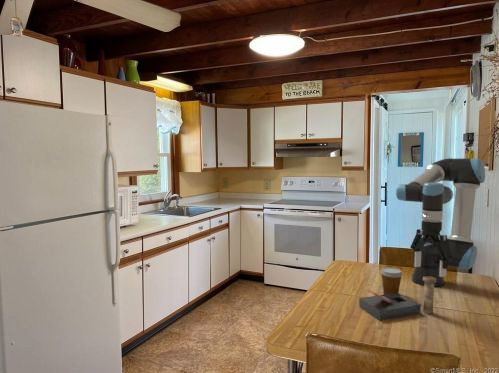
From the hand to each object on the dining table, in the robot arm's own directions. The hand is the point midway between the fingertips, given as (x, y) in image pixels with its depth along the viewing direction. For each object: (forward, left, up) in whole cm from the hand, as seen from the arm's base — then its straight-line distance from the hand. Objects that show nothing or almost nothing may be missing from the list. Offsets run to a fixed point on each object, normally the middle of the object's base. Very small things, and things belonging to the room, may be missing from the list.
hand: (429, 271), depth 154 cm
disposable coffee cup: (+2, -21, -18) cm, 28 cm away
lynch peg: (0, 0, -18) cm, 18 cm away
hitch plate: (+14, -7, -18) cm, 24 cm away
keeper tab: (+19, -7, -11) cm, 23 cm away
